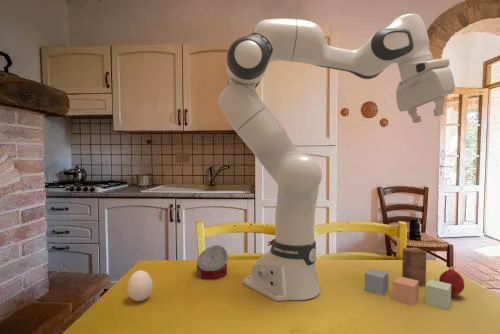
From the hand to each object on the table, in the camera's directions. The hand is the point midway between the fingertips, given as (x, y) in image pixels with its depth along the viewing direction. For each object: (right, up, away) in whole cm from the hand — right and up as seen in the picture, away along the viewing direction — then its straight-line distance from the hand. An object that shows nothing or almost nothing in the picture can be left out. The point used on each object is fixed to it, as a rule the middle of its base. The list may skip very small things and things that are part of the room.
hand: (427, 119), depth 89 cm
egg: (-80, -49, -5) cm, 94 cm away
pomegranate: (+4, -49, -3) cm, 49 cm away
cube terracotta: (-9, -49, -5) cm, 50 cm away
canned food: (-63, -49, +13) cm, 81 cm away
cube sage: (-2, -49, -8) cm, 50 cm away
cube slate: (-14, -49, +1) cm, 51 cm away
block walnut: (-1, -49, +5) cm, 49 cm away
